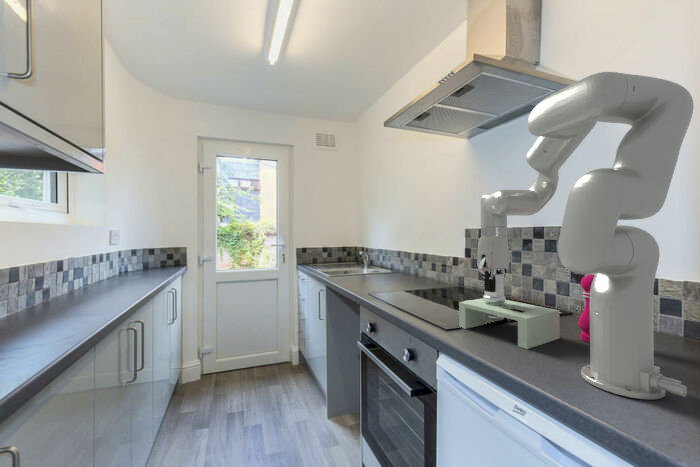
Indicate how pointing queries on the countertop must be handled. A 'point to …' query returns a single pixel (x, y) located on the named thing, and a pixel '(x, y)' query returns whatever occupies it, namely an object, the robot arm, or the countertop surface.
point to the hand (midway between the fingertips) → (494, 290)
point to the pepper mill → (586, 308)
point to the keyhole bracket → (532, 324)
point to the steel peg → (495, 295)
